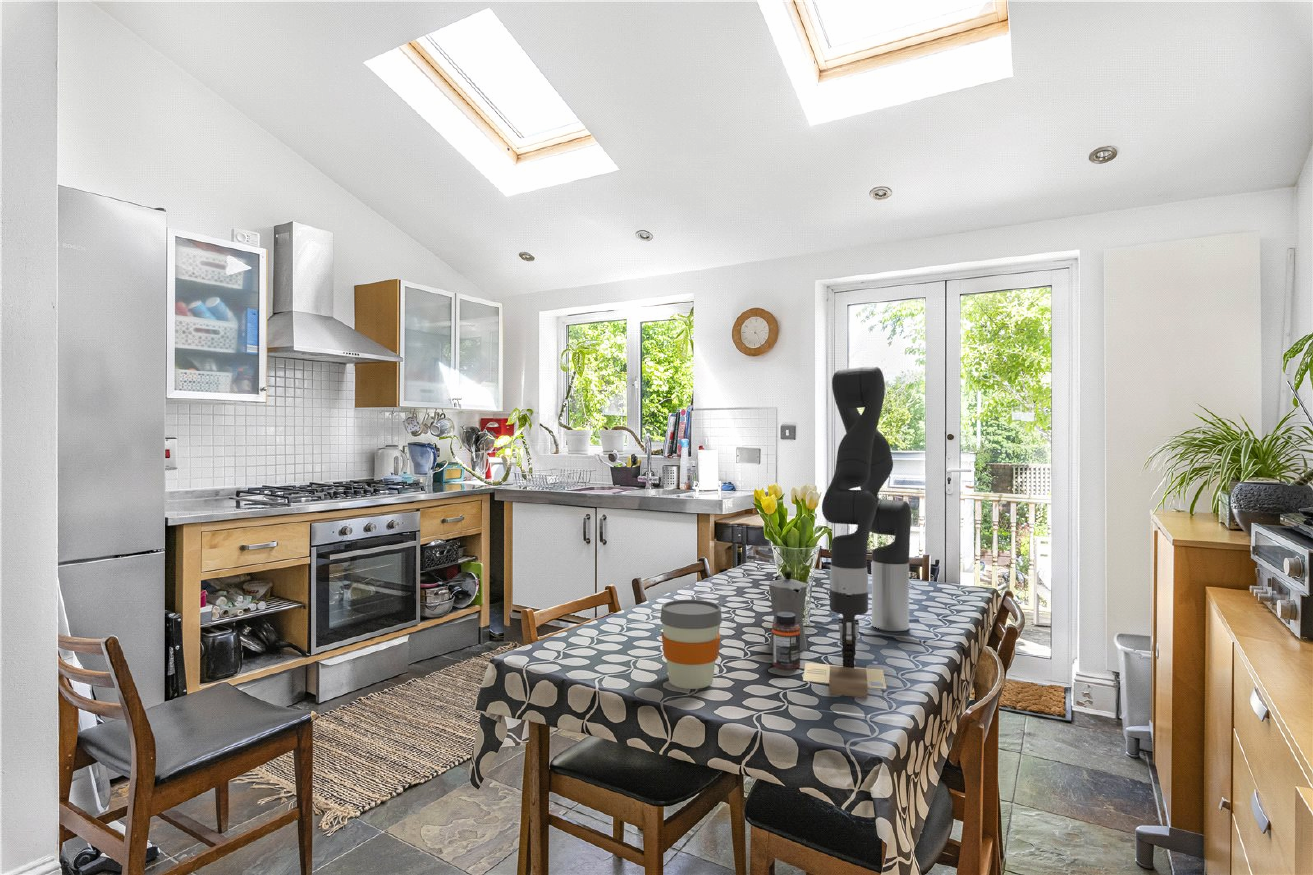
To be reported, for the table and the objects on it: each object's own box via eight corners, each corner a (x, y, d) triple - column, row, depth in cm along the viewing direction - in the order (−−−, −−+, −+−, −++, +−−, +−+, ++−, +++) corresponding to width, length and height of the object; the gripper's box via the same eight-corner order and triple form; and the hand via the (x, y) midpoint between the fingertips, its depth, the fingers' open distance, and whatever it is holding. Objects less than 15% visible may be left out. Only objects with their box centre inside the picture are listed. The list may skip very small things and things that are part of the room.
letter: (805, 664, 144) (805, 662, 144) (882, 671, 139) (882, 669, 139) (802, 681, 133) (802, 680, 133) (886, 690, 129) (886, 688, 129)
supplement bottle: (780, 659, 147) (780, 608, 147) (805, 665, 143) (805, 613, 143) (767, 666, 142) (767, 614, 142) (791, 673, 138) (792, 619, 138)
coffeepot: (817, 656, 149) (817, 576, 149) (777, 657, 148) (777, 577, 148) (794, 635, 164) (794, 563, 164) (757, 637, 163) (758, 564, 163)
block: (829, 680, 133) (829, 665, 133) (866, 684, 131) (866, 669, 131) (829, 695, 126) (829, 679, 126) (867, 699, 124) (867, 683, 124)
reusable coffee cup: (719, 670, 140) (720, 599, 140) (723, 693, 127) (724, 615, 127) (660, 669, 140) (661, 598, 140) (658, 691, 128) (659, 614, 128)
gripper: (830, 579, 141) (829, 660, 141) (829, 593, 128) (828, 682, 128) (866, 582, 139) (866, 664, 139) (869, 596, 126) (869, 687, 126)
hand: (848, 673), depth 133 cm, fingers closed
